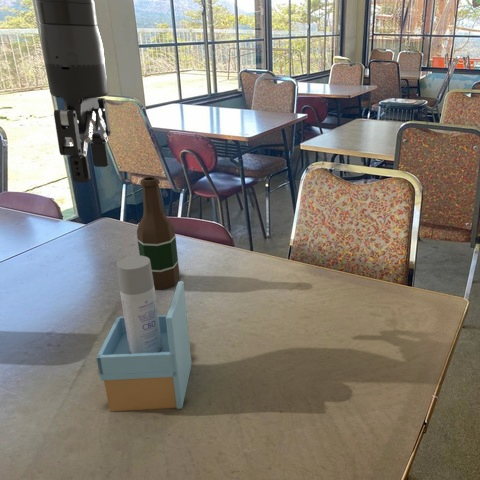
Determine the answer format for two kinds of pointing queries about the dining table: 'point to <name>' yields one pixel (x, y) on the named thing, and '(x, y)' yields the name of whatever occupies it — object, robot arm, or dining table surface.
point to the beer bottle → (157, 237)
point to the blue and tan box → (148, 364)
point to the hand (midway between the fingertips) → (92, 173)
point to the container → (139, 304)
